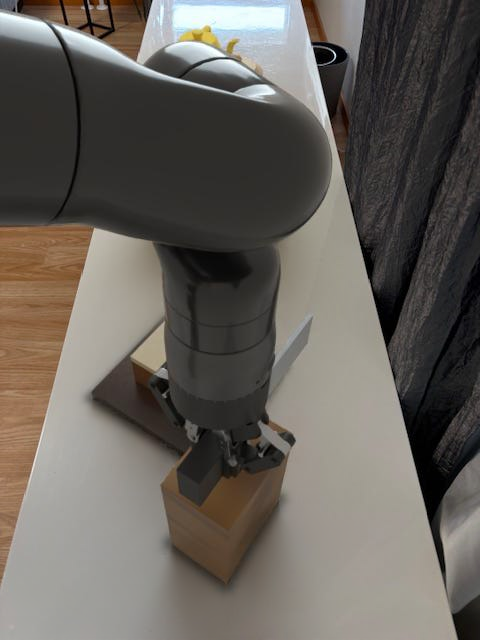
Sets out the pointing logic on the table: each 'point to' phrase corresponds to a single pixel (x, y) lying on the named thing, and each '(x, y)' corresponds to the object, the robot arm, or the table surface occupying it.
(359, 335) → the table surface
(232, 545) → the stand
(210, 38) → the teapot
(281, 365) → the knife
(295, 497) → the table surface
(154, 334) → the slice
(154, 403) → the board
